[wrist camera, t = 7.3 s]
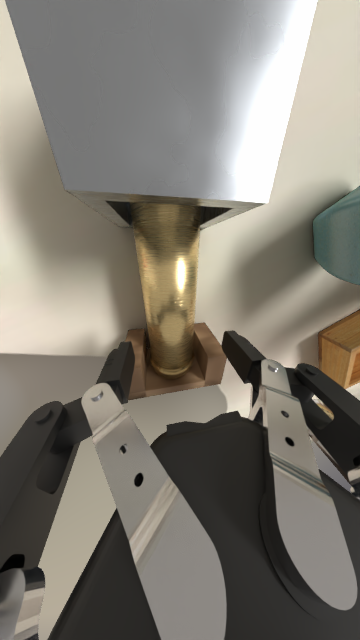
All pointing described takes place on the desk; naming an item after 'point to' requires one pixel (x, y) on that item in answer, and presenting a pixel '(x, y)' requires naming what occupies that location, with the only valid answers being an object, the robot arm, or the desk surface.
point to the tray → (341, 351)
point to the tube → (168, 281)
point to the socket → (200, 375)
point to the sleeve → (164, 97)
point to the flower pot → (340, 238)
